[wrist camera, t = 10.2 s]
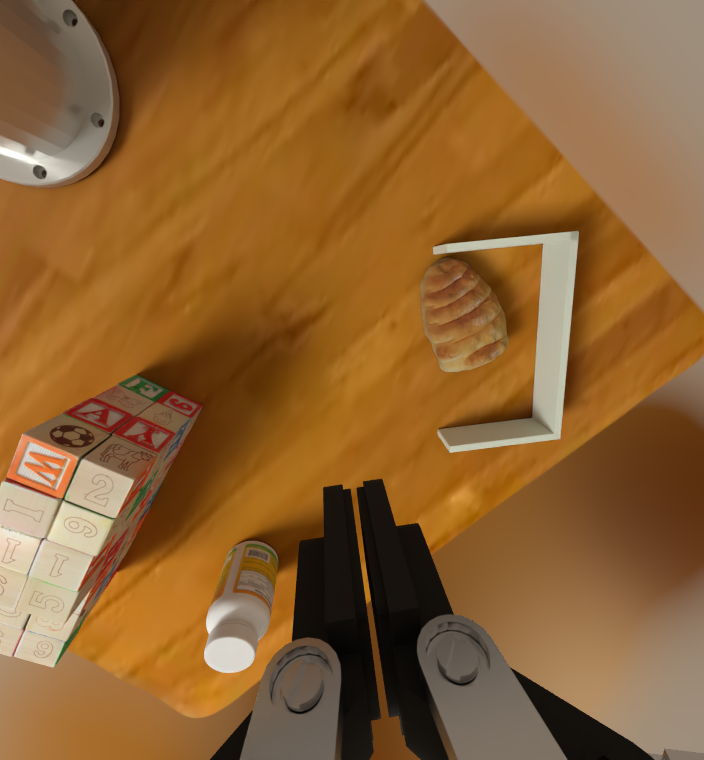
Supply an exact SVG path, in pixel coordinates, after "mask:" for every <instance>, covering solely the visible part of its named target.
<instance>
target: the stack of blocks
mask: <svg viewBox="0 0 704 760" xmlns="http://www.w3.org/2000/svg"><path fill="white" fill-rule="evenodd" d="M201 409H202V405H200V404H198V403H196V402H194V401H192V400H190V399H187V398H185V397H183V396H181V395H179V394H177V393H175V392H173V391H169V390H167V389H165V388H163V387H161V386H159V385H157V384H155V383H153V382H151V381H149V380H147V379H145V378H142V377H141V376H139V375H134V376H133V377H130V378H128V379H126V380H124V381H122V382H121V383H118V384H117V385H116V386H115V387H113V388H111V389H109V390H107V391H105V392H103V393H101V394H99V395H97V396H96V397H95V398H90V399H88V400H86V401H84V402H82V403H80V404H78V405H76V406H74V407H73V408H71V409H69V410H67V411H65V412H63V414H61V415H59V416H57V417H55V418H53V419H51V420H49V421H47V422H45V423H43V424H41V425H39V426H37V427H35V428H33V429H31V430H29V431H27V432H25V433H24V434H22V437H21V439H20V442H19V444H18V447H17V450H16V453H15V455H14V458H13V460H12V463H11V466H10V469H9V471H8V474H7V478H6V479H5V480H4V481H3V482H2V483H1V486H0V654H4V655H7V656H15V657H17V658H21V659H24V660H28V661H32V662H35V663H39V664H42V665H46V666H49V667H55V665H56V664H57V662H58V661H59V660H60V658H61V656H62V655H63V654H64V652H65V651H66V649H67V648H68V646H69V645H70V643H71V642H72V640H73V639H74V637H75V636H76V634H77V633H78V631H79V629H80V627H81V625H82V623H83V622H84V620H85V619H86V617H87V616H88V615H89V613H90V612H91V610H92V609H93V607H94V606H95V604H96V603H97V601H98V600H99V598H100V596H101V594H102V593H103V591H104V590H105V589H106V587H107V586H108V584H109V583H110V581H111V580H112V578H113V577H114V575H115V574H116V572H117V570H118V568H119V566H120V564H121V562H122V560H123V558H124V556H125V555H126V553H127V552H128V550H129V548H130V546H131V544H132V542H133V540H134V538H135V536H136V534H137V532H138V530H139V528H140V527H141V525H142V523H143V521H144V519H145V517H146V515H147V513H148V511H149V509H150V505H151V503H152V502H153V500H154V498H155V496H156V494H157V492H158V490H159V488H160V486H161V484H162V482H163V480H164V478H165V476H166V474H167V472H168V470H169V468H170V466H171V464H172V462H173V460H174V459H175V458H176V456H177V454H178V452H179V451H180V449H181V447H182V445H183V443H184V441H185V439H186V437H187V435H188V433H189V432H190V430H191V428H192V426H193V424H194V423H195V421H196V419H197V417H198V415H199V413H200V411H201Z"/></svg>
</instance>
